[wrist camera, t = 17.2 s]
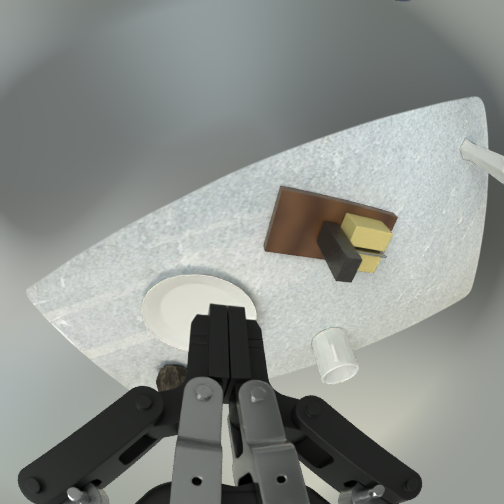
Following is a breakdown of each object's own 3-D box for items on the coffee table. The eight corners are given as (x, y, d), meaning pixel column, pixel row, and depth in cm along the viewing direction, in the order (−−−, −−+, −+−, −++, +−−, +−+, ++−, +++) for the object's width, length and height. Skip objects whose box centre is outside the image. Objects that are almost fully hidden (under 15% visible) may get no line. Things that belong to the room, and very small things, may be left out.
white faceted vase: (460, 135, 33) (523, 168, 21) (474, 138, 33) (534, 170, 21) (457, 160, 36) (517, 197, 23) (471, 161, 36) (528, 197, 23)
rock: (179, 358, 56) (176, 400, 49) (206, 374, 63) (205, 411, 56) (147, 363, 59) (142, 401, 52) (175, 379, 66) (173, 413, 59)
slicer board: (263, 245, 42) (264, 251, 41) (280, 185, 37) (282, 189, 36) (370, 261, 46) (373, 266, 45) (393, 212, 41) (397, 217, 40)
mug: (341, 311, 53) (356, 349, 45) (347, 341, 59) (360, 375, 51) (304, 324, 54) (315, 364, 46) (315, 353, 61) (325, 388, 52)
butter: (329, 253, 42) (337, 268, 39) (346, 212, 38) (356, 225, 35) (363, 258, 44) (373, 273, 40) (381, 220, 40) (393, 234, 36)
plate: (121, 296, 46) (118, 305, 44) (214, 244, 42) (214, 253, 40) (189, 354, 57) (189, 362, 55) (274, 321, 52) (276, 329, 51)
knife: (316, 241, 40) (335, 280, 33) (324, 220, 39) (346, 257, 31) (370, 250, 42) (394, 286, 35) (378, 232, 40) (406, 266, 33)
